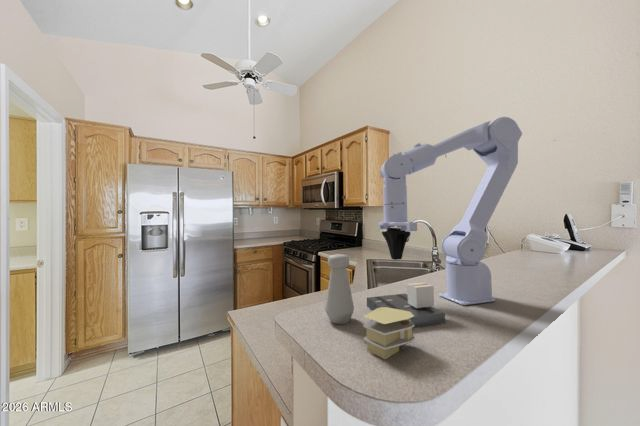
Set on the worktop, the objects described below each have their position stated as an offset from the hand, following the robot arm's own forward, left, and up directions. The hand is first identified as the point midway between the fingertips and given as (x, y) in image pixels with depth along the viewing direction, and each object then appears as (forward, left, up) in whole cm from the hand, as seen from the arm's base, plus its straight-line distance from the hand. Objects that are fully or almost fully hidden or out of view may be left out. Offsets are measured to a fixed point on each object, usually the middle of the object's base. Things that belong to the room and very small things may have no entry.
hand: (396, 259), depth 62 cm
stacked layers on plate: (+14, +21, -10) cm, 27 cm away
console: (+5, +9, -10) cm, 14 cm away
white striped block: (+2, +11, -8) cm, 13 cm away
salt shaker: (+18, +8, -10) cm, 22 cm away
